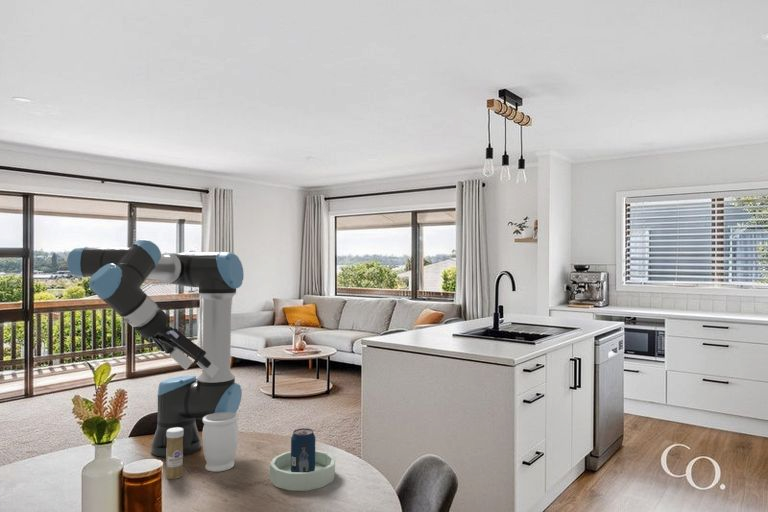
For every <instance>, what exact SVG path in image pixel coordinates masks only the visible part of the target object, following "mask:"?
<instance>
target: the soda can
mask: <svg viewBox="0 0 768 512" xmlns="http://www.w3.org/2000/svg"><path fill="white" fill-rule="evenodd" d="M292 433H293V434H292V436H291V437H290V451H291V472H311V471H314V470H315V450H316V436H315V433H314V430H313V429H311V428H297V429H295V430H293V432H292Z"/></svg>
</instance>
